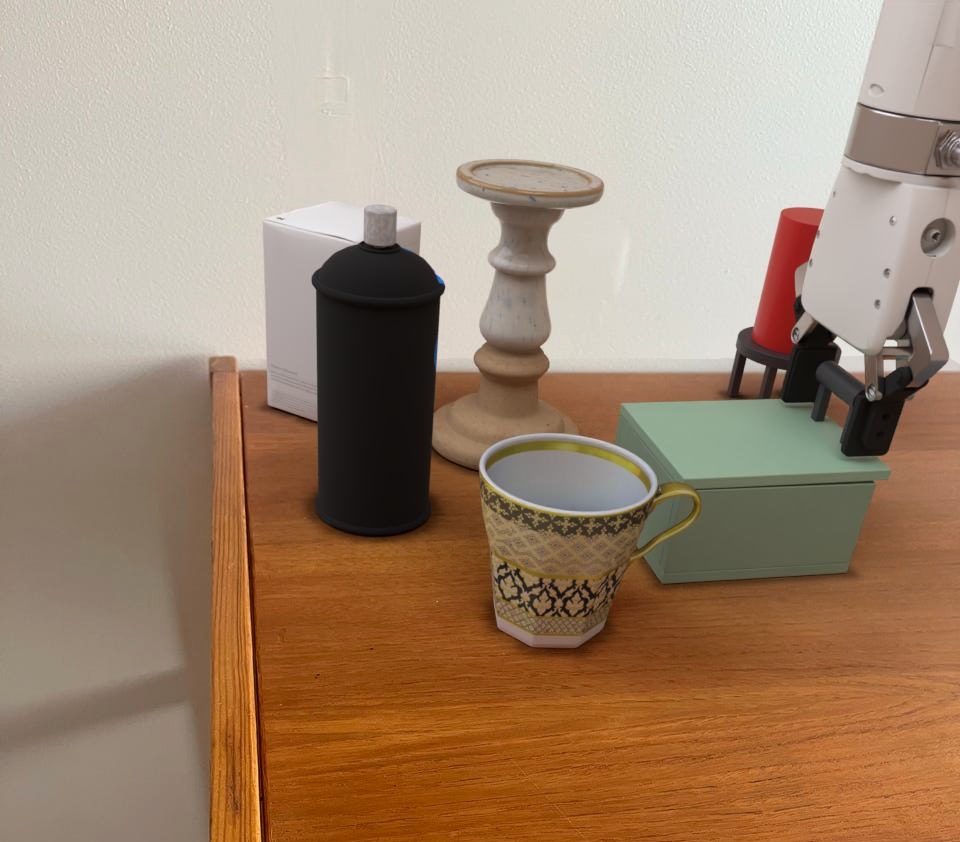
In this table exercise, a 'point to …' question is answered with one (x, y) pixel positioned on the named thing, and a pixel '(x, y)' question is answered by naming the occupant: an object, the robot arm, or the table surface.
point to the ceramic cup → (565, 531)
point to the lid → (755, 438)
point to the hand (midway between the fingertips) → (830, 425)
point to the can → (784, 277)
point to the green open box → (752, 527)
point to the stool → (761, 356)
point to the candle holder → (513, 306)
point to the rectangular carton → (306, 292)
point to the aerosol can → (376, 381)
